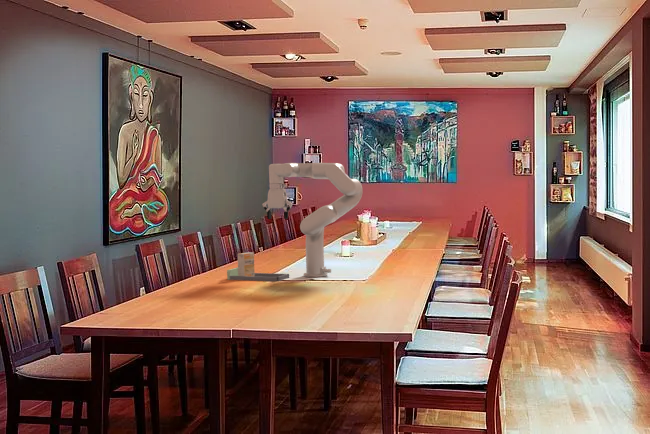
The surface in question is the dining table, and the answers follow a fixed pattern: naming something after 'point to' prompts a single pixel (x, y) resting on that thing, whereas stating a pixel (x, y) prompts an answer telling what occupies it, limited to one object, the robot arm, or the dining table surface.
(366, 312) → the dining table surface
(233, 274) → the trap channel
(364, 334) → the dining table surface
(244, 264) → the supplement box
